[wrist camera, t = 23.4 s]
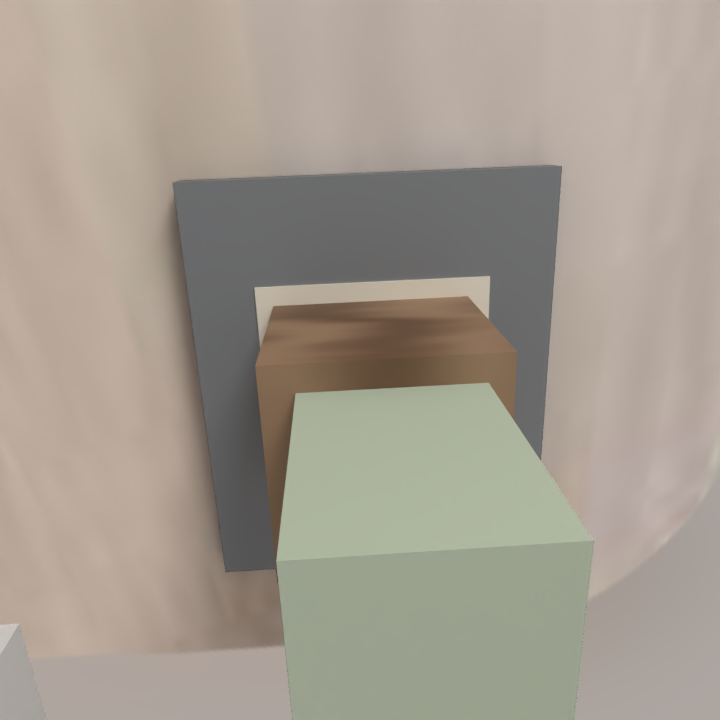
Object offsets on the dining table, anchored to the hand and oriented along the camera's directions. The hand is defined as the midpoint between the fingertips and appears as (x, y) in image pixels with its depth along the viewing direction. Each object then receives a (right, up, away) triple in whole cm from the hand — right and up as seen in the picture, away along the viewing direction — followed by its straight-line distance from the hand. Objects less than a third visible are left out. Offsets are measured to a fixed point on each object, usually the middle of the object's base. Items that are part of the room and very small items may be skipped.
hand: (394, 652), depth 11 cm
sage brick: (+1, +2, +9) cm, 9 cm away
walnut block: (0, +4, +15) cm, 16 cm away
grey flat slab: (0, +4, +17) cm, 17 cm away
